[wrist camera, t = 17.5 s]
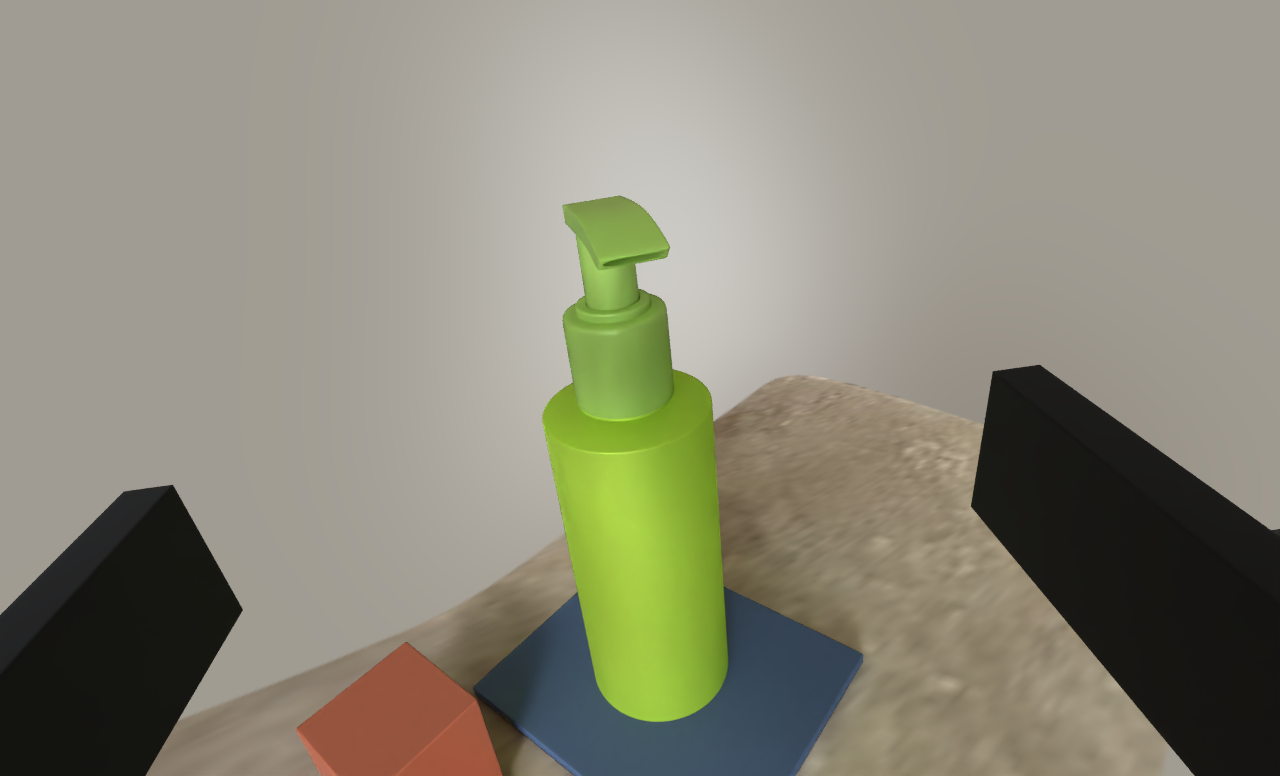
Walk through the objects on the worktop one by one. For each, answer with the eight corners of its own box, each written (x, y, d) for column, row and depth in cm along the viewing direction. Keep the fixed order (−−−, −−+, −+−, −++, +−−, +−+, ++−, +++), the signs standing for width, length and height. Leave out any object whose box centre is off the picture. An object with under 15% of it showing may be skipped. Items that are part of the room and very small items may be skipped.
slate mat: (863, 661, 28) (863, 653, 28) (723, 898, 21) (722, 890, 21) (633, 548, 36) (632, 541, 36) (474, 694, 29) (472, 687, 29)
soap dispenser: (617, 766, 25) (512, 254, 16) (583, 629, 31) (493, 199, 22) (760, 719, 26) (745, 213, 17) (701, 595, 32) (665, 172, 23)
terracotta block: (504, 776, 25) (478, 699, 23) (402, 884, 22) (361, 807, 20) (435, 714, 28) (406, 640, 26) (336, 803, 25) (294, 728, 23)
